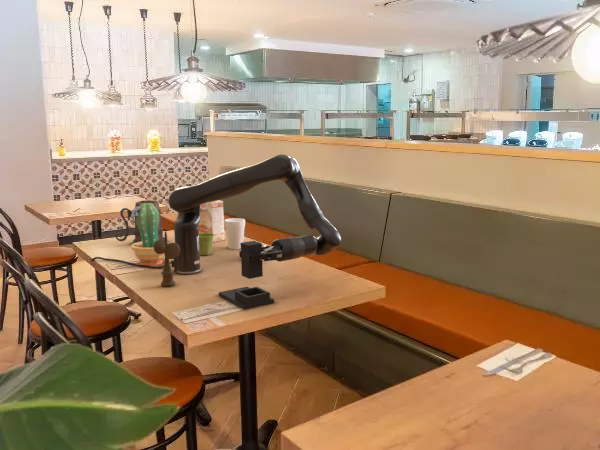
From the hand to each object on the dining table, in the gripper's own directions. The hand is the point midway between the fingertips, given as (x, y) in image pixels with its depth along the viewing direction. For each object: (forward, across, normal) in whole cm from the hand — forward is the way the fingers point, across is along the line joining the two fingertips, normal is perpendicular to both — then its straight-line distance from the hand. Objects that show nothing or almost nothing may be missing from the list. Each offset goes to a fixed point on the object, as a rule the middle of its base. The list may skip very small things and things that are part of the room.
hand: (244, 256), depth 184 cm
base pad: (-2, -4, +16) cm, 17 cm away
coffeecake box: (-34, -98, +16) cm, 106 cm away
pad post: (-3, 0, +7) cm, 7 cm away
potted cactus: (+6, -70, +16) cm, 72 cm away
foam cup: (-35, -74, +16) cm, 83 cm away
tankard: (-3, -107, +16) cm, 108 cm away
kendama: (+12, -35, +16) cm, 40 cm away
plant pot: (-18, -71, +16) cm, 75 cm away
